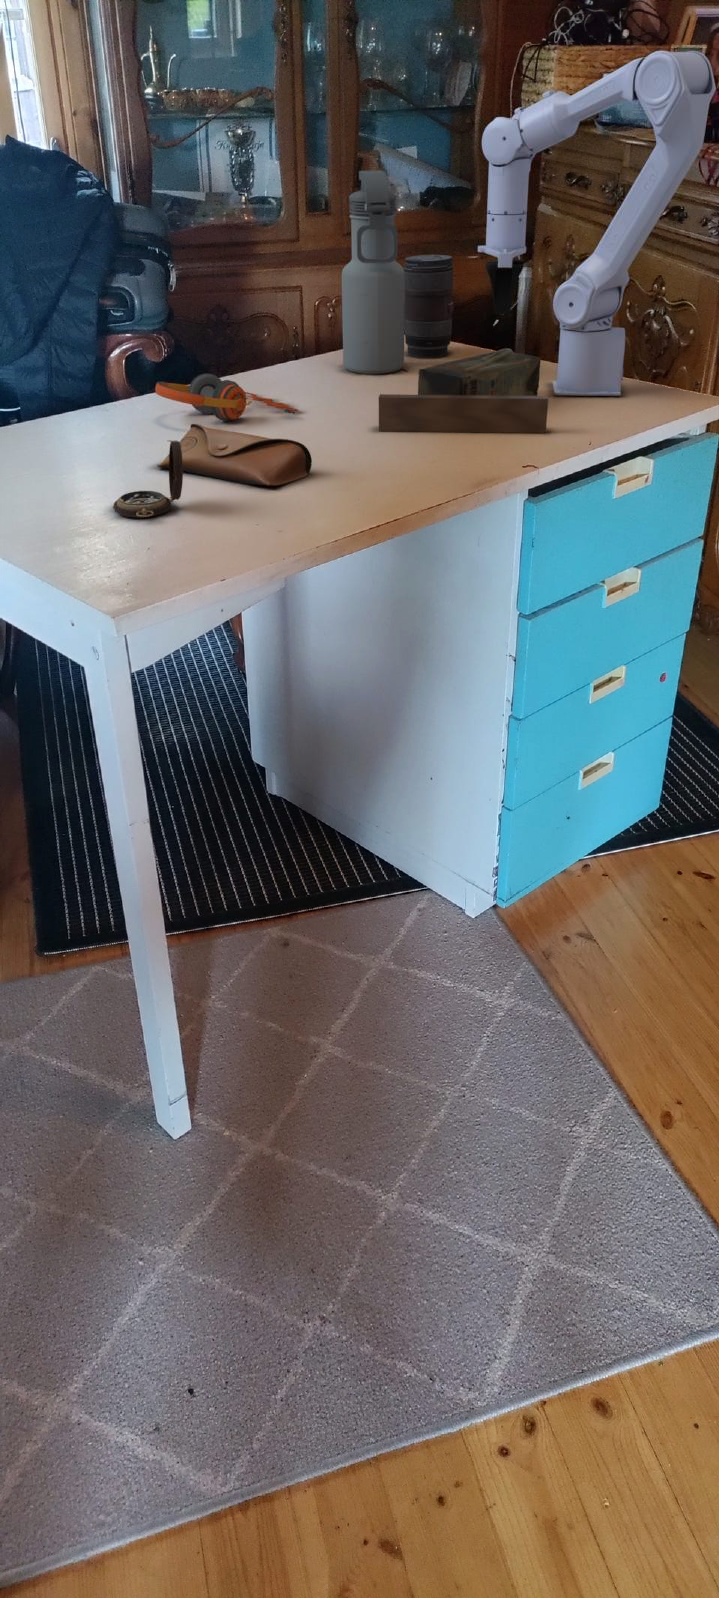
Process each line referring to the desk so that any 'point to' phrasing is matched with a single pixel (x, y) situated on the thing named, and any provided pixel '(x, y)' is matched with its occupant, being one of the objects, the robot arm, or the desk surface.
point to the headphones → (214, 396)
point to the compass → (151, 500)
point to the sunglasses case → (242, 457)
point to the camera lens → (428, 305)
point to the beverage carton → (483, 375)
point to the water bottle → (373, 282)
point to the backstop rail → (463, 413)
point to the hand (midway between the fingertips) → (502, 313)
